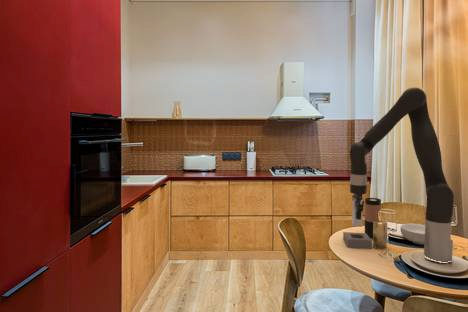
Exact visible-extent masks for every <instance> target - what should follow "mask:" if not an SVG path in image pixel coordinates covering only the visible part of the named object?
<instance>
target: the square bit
mask: <svg viewBox="0 0 468 312" xmlns="http://www.w3.org/2000/svg"><path fill="white" fill-rule="evenodd" d="M351 201H352V202H351V203H352V206H351V210H352V211H351V225H352V226H353V227H357V228H358V227H359V228H360V227H361V228H362V227H363V215H364V211H363V212H361V219H360V220H357V219H356V207H355V201H353V200H352V199H351ZM356 205H358V204H357V203H356ZM359 209H360V208H359Z"/></svg>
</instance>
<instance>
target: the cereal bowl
mask: <svg viewBox="0 0 468 312" xmlns="http://www.w3.org/2000/svg"><path fill="white" fill-rule="evenodd" d="M400 234H401V235H402V236H403V237H404V238H405V239H406V240H408V241H410V242H411V241H412V242H411V243H413V244H417V245H423V246H424V243H425V224H420V223H403V224H401V225H400Z"/></svg>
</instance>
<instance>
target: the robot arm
mask: <svg viewBox="0 0 468 312" xmlns="http://www.w3.org/2000/svg"><path fill="white" fill-rule="evenodd" d="M427 101H428V100H427V94H426V93H425V91H424V90H423V89H421V88H419V87H409V88H407V89H406V90H404V91H403V92H402V93H401V95H400V96H399V98H398V99H397V101H396V102H395V103H394V105H393V106H392V107H391V108H390V109H389V110H388V112H386V113H385V115H383V116H382V117H381V118H380V119H379V120H378V121H377V122H376V123H375V124H374V125H372V126H371V127H370V129H369V130H367V131H366V133H365V134H364V137H362V139H360V140H359V142H355V143H353V144H352V145H351V146H350V149H349V159H350V163H351V166H350V167H351V168H350V179H349V192H350V193H351V194H352V195H351V196H352V199H351V201H352V200H353V201H355V207H356V219H357V220H360V219H361V212H363V213H364V207H365V200H364V197H363V195H366V194H367V189H368V184H367V183H368V176H367V173H368V170H367V169H368V168H367V167H368V166H367V165H368V164H367V163H366V156H367V155H368V154H370V152H371V151H372V150H373V148H374V147H376V145H377V144H378V143H380V142H381V141H382V140H383V139H384V138H385V137H387V136H388V134H389V133H390V132H391V131H392V130H393V129H394V128H395V126H396V125H397V124H398V123H399V122H400V121H401V120H402V119H403V118H404V117H406V116H407V115H408V118H409V121H410V129H411V132H410V133H411V141H412V145H413V150H414V153H415V156H416V159H417V162H418V164H419V166H420V169H421V172H422V174H423V179H424V185H425V195H426V209H425V210H426V211H425V216H424V217H425V220H424V221H425V222H424V225H425V243H424V245H423V247H424V249H423V256H424V255H425V256H426V257H428V258H430V259H433V260H436V261H441V262H448V261H452V262H453V251H454V250H453V249H454V247H453V246H454V245H453V244H454V240H452V237H451V236H452V220H453V219H452V218H453V215H454V199H455V197H454V195H455V194H454V192H453V189H451V188H450V186H449V184H448V182H447V179H446V177H445V174H444V170H443V164H442V162H443V161H442V152H441V146H440V144H439V142H440V141H439V140H438V136H437V133H436V130H435V128H434V126H433V125H434V124H433V123H432V121H431V118H430V114H429V110H428V102H427ZM356 203H357V204H358V205H356ZM359 208H360V209H359Z"/></svg>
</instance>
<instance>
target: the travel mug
mask: <svg viewBox="0 0 468 312" xmlns="http://www.w3.org/2000/svg"><path fill="white" fill-rule="evenodd" d="M380 210H381V211H382V199H381V198H376V197H365V200H364V233H366V234H367V235H368V236H369V237H370V239H373V223H374V221H379V219H378V211H380Z"/></svg>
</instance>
